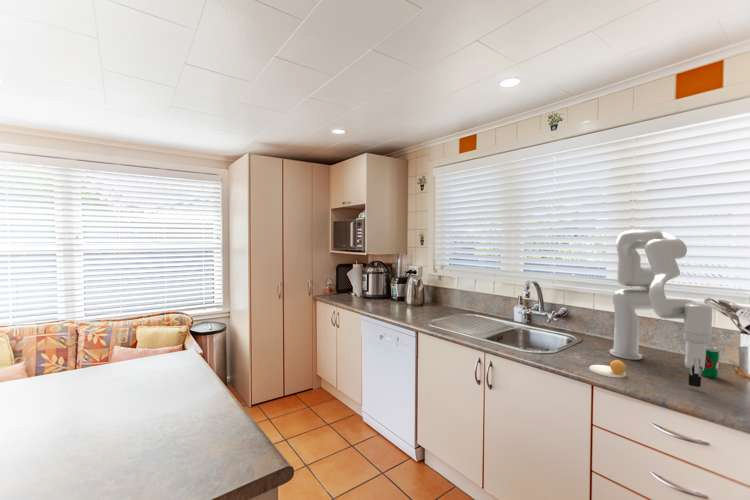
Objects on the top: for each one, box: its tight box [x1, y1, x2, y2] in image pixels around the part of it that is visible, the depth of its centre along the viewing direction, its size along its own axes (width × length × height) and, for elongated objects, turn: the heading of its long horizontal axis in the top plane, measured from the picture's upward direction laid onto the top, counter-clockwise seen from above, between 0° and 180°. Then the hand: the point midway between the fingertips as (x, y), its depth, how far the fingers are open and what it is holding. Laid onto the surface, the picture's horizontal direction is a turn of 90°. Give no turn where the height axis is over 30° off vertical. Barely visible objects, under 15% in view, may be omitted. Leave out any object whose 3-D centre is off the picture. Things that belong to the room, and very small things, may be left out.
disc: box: [588, 364, 627, 379], centre depth 145 cm, size 13×13×1 cm
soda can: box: [701, 345, 720, 379], centre depth 140 cm, size 5×5×12 cm
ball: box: [609, 359, 627, 374], centre depth 143 cm, size 6×6×6 cm
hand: (694, 385), depth 129 cm, fingers closed
